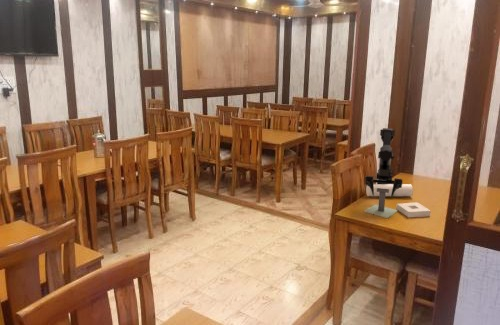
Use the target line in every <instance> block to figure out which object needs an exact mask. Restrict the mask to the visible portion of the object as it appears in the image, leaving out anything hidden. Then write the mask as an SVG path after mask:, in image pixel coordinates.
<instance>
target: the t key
mask: <svg viewBox="0 0 500 325" xmlns="http://www.w3.org/2000/svg"><path fill="white" fill-rule="evenodd" d="M377 192H380V194H379V196H378V205H379V206H378V211H381V212H384V207H386V206H385V202H386V196H385V195H386V193H389V189H381V188H377Z"/></svg>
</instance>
